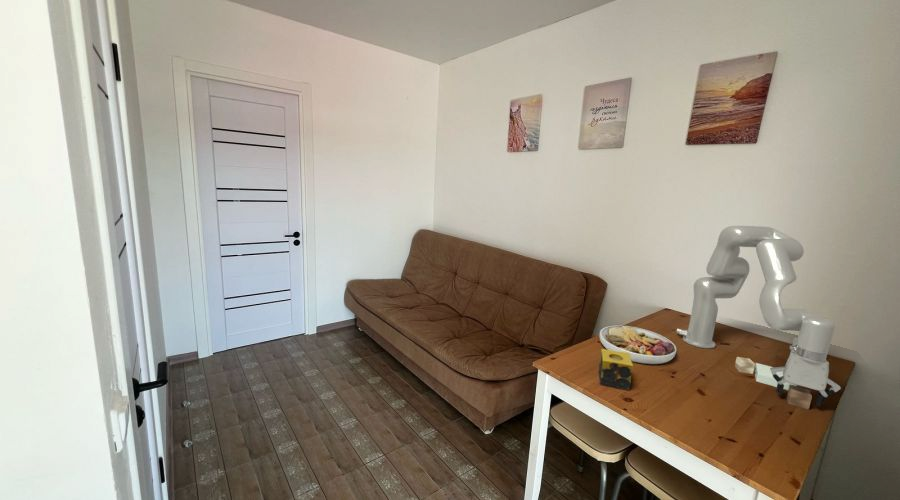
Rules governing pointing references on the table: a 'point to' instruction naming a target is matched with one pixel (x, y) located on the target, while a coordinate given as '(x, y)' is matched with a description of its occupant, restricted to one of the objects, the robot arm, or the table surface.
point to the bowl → (638, 344)
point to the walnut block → (799, 396)
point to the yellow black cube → (615, 369)
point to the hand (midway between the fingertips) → (798, 399)
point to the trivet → (768, 376)
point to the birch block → (744, 365)
